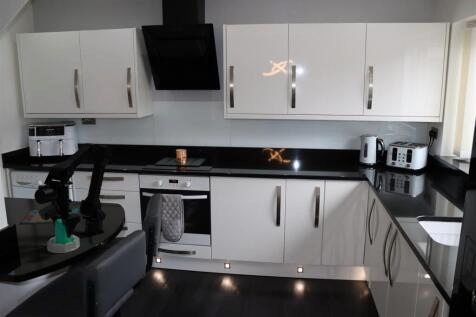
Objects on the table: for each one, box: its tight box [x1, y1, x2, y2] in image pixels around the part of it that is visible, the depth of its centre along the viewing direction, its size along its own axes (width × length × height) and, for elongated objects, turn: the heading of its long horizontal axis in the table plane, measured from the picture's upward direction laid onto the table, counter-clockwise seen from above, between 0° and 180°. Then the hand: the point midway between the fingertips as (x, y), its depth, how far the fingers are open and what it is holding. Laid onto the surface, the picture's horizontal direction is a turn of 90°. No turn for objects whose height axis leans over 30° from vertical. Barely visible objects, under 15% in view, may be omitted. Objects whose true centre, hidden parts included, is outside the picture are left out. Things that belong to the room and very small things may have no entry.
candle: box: [54, 219, 71, 244], centre depth 158 cm, size 6×6×12 cm
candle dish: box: [46, 234, 81, 254], centre depth 159 cm, size 12×12×3 cm
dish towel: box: [20, 207, 80, 225], centre depth 193 cm, size 17×23×2 cm
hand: (63, 234), depth 159 cm, fingers open, 9 cm apart
